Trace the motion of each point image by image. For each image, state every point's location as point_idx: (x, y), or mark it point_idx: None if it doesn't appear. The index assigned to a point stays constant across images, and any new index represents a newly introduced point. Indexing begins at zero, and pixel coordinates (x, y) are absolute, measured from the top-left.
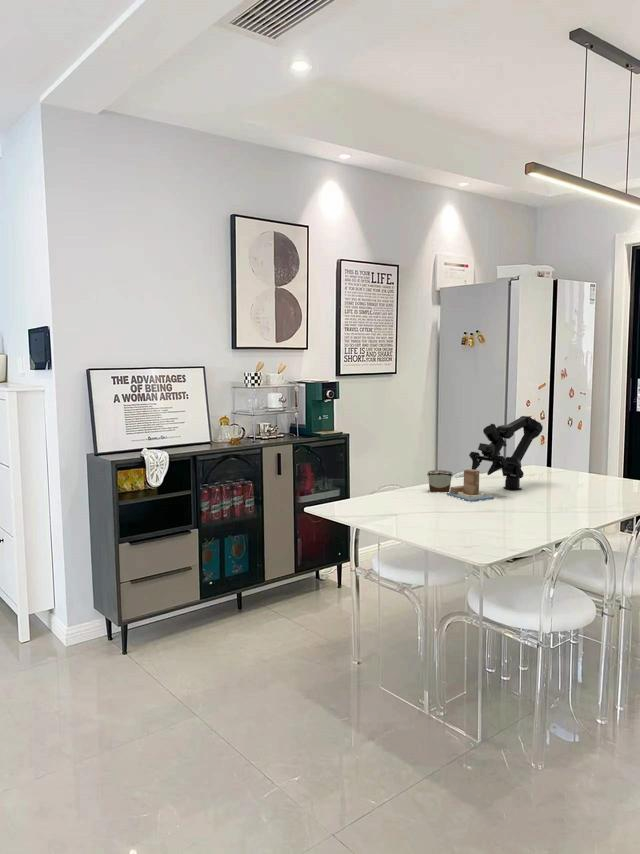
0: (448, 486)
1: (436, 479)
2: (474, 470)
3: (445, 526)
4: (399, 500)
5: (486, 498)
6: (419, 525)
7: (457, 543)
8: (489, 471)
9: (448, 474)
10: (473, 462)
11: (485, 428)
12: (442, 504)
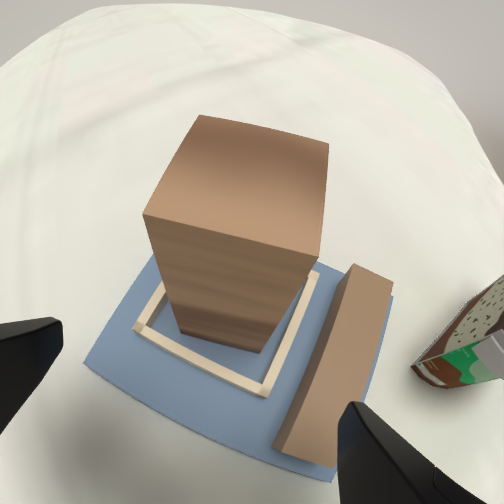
0: (438, 352)
1: (501, 289)
2: (214, 187)
3: (165, 28)
4: (411, 130)
5: (117, 311)
6: (213, 21)
7: (126, 11)
8: (18, 321)
9: (499, 322)
10: (453, 499)
11: None
12: (275, 128)
